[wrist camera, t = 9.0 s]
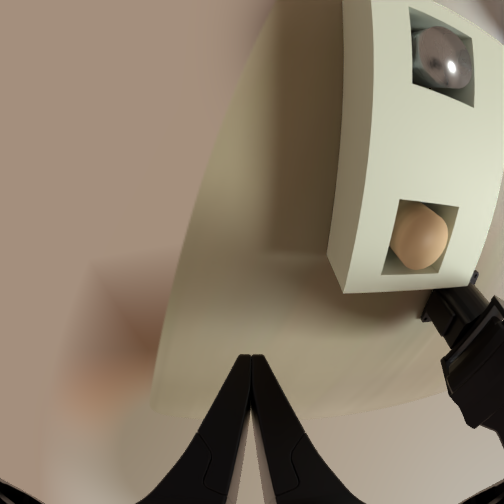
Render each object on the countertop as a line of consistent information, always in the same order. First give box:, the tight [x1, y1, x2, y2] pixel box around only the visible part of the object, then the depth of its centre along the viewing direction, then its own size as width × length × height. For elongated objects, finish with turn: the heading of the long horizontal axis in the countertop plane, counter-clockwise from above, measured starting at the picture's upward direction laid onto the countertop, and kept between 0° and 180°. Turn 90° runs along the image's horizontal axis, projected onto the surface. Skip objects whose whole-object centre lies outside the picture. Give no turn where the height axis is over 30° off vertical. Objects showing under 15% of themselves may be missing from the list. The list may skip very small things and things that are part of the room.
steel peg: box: [411, 26, 472, 89], centre depth 11 cm, size 4×4×5 cm
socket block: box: [326, 0, 504, 294], centre depth 14 cm, size 12×20×5 cm, turn 179°
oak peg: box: [389, 199, 448, 270], centre depth 17 cm, size 4×4×5 cm
